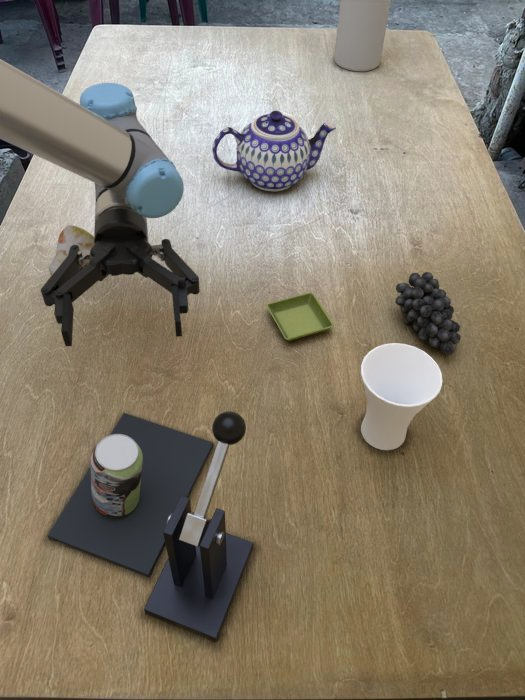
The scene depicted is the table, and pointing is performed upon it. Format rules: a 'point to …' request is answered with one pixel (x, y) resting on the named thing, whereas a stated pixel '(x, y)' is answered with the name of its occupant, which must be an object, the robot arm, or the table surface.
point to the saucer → (299, 316)
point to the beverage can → (116, 475)
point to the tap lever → (213, 475)
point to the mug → (69, 238)
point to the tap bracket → (198, 575)
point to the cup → (396, 391)
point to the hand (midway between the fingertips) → (123, 334)
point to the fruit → (429, 311)
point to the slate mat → (154, 502)
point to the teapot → (274, 150)
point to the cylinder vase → (361, 33)
